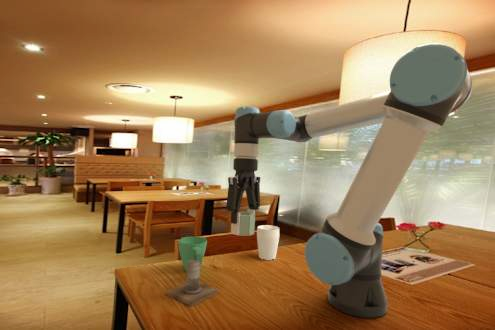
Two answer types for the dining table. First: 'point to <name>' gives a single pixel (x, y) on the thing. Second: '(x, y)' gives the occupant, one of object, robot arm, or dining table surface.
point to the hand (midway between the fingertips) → (243, 231)
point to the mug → (192, 249)
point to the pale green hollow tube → (247, 223)
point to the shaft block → (192, 287)
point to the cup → (267, 241)
